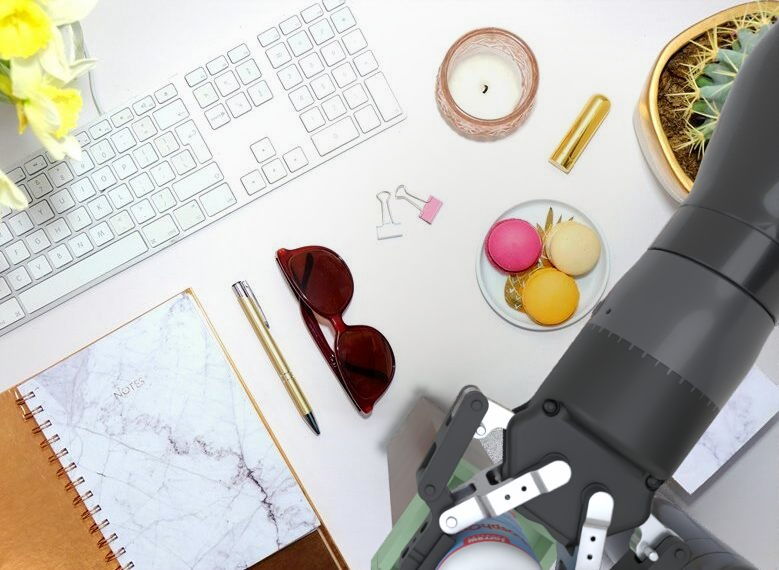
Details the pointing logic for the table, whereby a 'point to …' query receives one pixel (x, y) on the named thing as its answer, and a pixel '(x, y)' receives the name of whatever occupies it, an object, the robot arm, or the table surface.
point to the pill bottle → (491, 547)
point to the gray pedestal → (419, 453)
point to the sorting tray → (417, 512)
